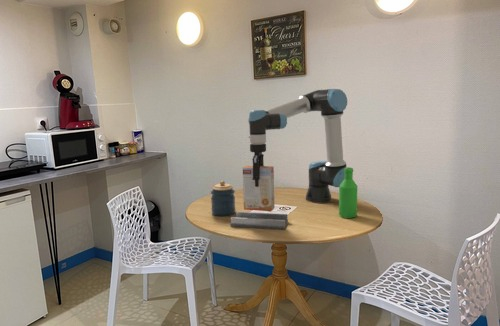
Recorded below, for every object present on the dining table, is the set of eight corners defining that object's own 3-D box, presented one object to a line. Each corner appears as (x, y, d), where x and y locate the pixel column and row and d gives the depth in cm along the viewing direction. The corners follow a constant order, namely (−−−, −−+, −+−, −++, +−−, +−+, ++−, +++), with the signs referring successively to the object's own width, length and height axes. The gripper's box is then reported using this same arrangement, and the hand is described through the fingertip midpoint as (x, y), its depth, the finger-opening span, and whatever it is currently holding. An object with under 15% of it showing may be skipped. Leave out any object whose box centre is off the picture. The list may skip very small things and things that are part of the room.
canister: (207, 215, 183) (205, 183, 180) (217, 208, 195) (216, 177, 192) (229, 217, 178) (228, 184, 175) (239, 210, 190) (238, 179, 187)
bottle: (347, 219, 170) (348, 170, 166) (335, 215, 178) (336, 167, 173) (360, 216, 174) (361, 168, 170) (348, 212, 182) (349, 165, 177)
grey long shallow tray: (287, 221, 170) (287, 213, 170) (284, 229, 159) (284, 221, 158) (237, 218, 176) (237, 210, 176) (230, 226, 165) (230, 218, 164)
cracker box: (274, 208, 167) (274, 165, 163) (271, 212, 161) (270, 168, 158) (247, 206, 171) (246, 165, 168) (243, 209, 166) (242, 167, 162)
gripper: (254, 141, 171) (255, 186, 175) (245, 145, 153) (246, 196, 156) (269, 141, 169) (270, 186, 173) (261, 145, 151) (262, 196, 155)
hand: (258, 191), depth 165 cm, fingers closed on cracker box, 6 cm apart
